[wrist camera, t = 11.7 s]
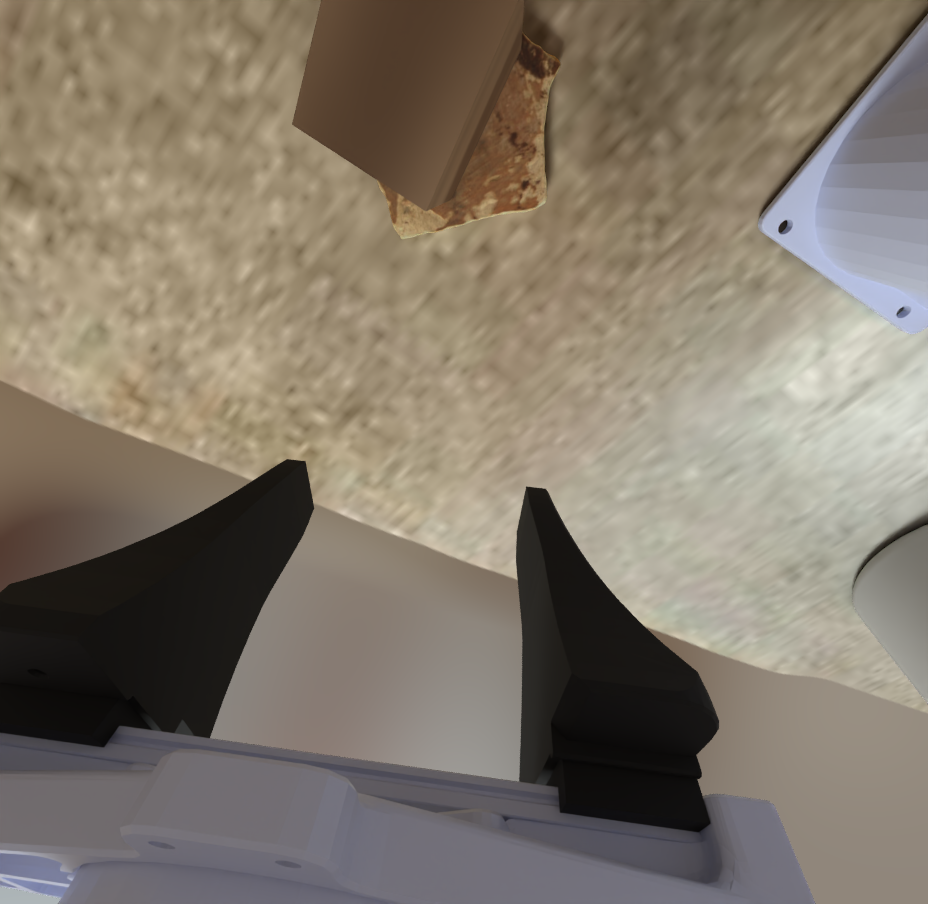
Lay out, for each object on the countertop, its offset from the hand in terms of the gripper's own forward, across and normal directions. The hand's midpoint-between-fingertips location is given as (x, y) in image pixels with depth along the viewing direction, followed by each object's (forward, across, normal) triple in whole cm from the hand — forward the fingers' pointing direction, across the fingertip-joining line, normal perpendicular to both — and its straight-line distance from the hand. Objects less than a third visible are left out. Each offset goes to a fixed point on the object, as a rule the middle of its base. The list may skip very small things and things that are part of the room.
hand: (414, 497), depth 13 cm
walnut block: (+9, +1, -11) cm, 14 cm away
